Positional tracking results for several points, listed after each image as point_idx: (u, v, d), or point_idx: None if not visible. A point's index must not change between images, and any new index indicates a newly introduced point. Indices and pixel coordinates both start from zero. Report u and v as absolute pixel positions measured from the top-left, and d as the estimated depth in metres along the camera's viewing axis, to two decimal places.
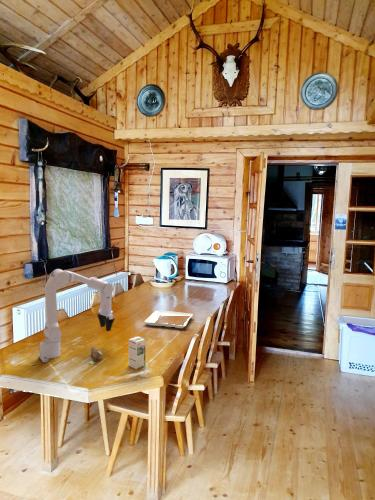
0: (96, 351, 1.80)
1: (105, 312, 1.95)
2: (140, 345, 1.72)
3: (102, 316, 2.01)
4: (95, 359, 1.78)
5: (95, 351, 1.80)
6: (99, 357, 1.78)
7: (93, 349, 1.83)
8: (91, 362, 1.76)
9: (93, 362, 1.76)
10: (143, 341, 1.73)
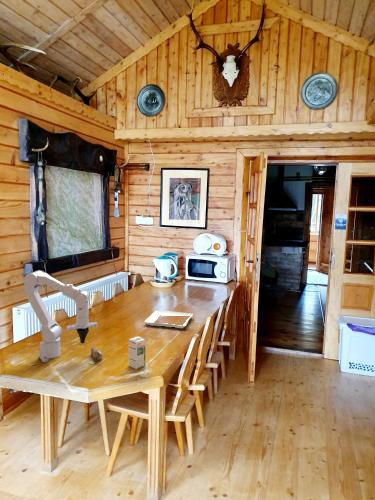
0: (96, 351, 1.80)
1: None
2: (140, 345, 1.72)
3: None
4: (95, 359, 1.78)
5: (95, 351, 1.80)
6: (99, 357, 1.78)
7: (93, 349, 1.83)
8: (91, 362, 1.76)
9: (93, 362, 1.76)
10: (143, 341, 1.73)
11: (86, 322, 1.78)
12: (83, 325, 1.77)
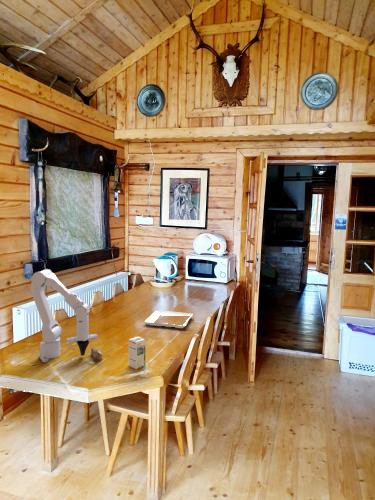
0: (96, 351, 1.80)
1: None
2: (140, 345, 1.72)
3: None
4: (95, 359, 1.78)
5: (95, 351, 1.80)
6: (99, 357, 1.78)
7: (93, 349, 1.83)
8: (91, 362, 1.76)
9: (93, 362, 1.76)
10: (143, 341, 1.73)
11: (86, 334, 1.79)
12: (83, 337, 1.78)
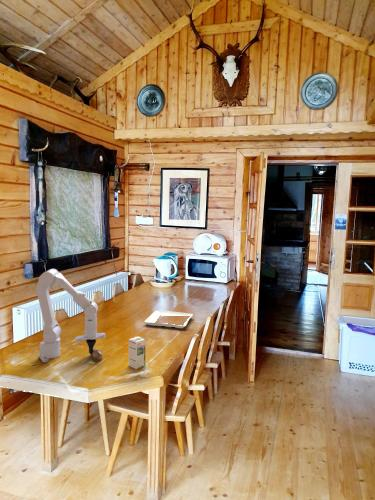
0: (96, 351, 1.80)
1: (85, 334, 1.83)
2: (140, 345, 1.72)
3: None
4: (95, 359, 1.78)
5: (95, 351, 1.80)
6: (99, 357, 1.78)
7: (93, 349, 1.83)
8: (91, 362, 1.76)
9: (93, 362, 1.76)
10: (143, 341, 1.73)
11: (94, 333, 1.81)
12: (91, 336, 1.80)
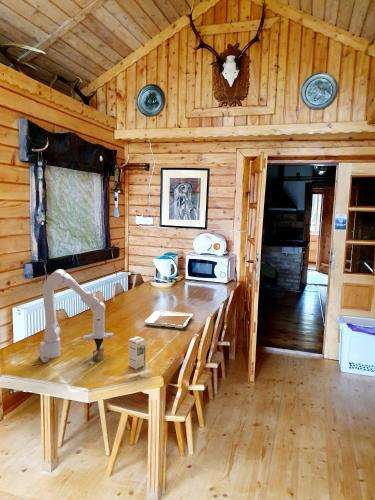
0: (96, 351, 1.80)
1: None
2: (140, 345, 1.72)
3: None
4: (93, 358, 1.79)
5: (96, 350, 1.81)
6: (95, 357, 1.78)
7: None
8: (91, 362, 1.76)
9: (93, 362, 1.76)
10: (143, 341, 1.73)
11: (102, 332, 1.83)
12: (99, 335, 1.82)
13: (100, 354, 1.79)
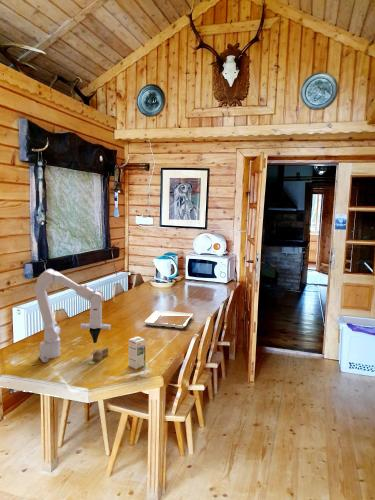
0: (97, 351, 1.80)
1: None
2: (140, 345, 1.72)
3: None
4: (93, 357, 1.80)
5: (97, 350, 1.81)
6: (94, 357, 1.78)
7: (102, 349, 1.84)
8: (91, 362, 1.76)
9: (93, 362, 1.76)
10: (143, 341, 1.73)
11: (97, 323, 1.82)
12: (93, 325, 1.82)
13: (98, 354, 1.78)
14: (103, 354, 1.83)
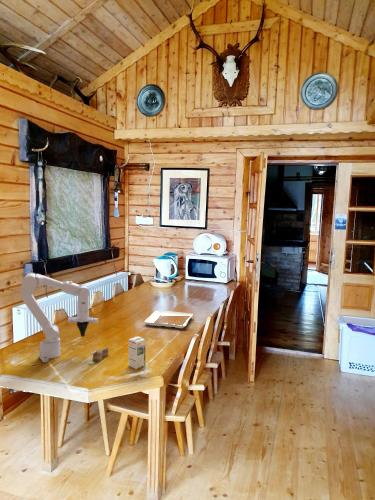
0: (97, 351, 1.80)
1: None
2: (140, 345, 1.72)
3: None
4: (93, 357, 1.80)
5: (97, 350, 1.81)
6: (94, 357, 1.78)
7: (102, 349, 1.84)
8: (91, 362, 1.76)
9: (93, 362, 1.76)
10: (143, 341, 1.73)
11: (84, 316, 1.84)
12: (80, 319, 1.83)
13: (98, 354, 1.78)
14: (103, 354, 1.83)
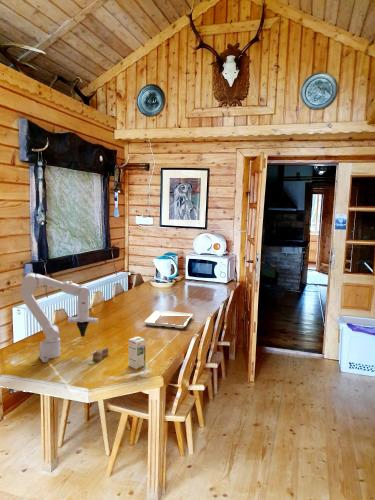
0: (97, 351, 1.80)
1: None
2: (140, 345, 1.72)
3: None
4: (93, 357, 1.80)
5: (97, 350, 1.81)
6: (94, 357, 1.78)
7: (102, 349, 1.84)
8: (91, 362, 1.76)
9: (93, 362, 1.76)
10: (143, 341, 1.73)
11: (84, 316, 1.84)
12: (80, 319, 1.83)
13: (98, 354, 1.78)
14: (103, 354, 1.83)
